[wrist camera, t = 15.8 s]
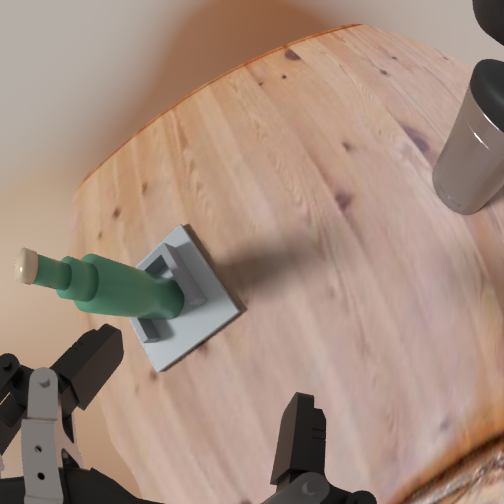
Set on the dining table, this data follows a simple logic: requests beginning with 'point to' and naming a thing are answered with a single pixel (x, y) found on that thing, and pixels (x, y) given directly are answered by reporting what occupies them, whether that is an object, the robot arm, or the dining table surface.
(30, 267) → the bottle
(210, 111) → the dining table surface
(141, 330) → the bottle rest
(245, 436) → the dining table surface
